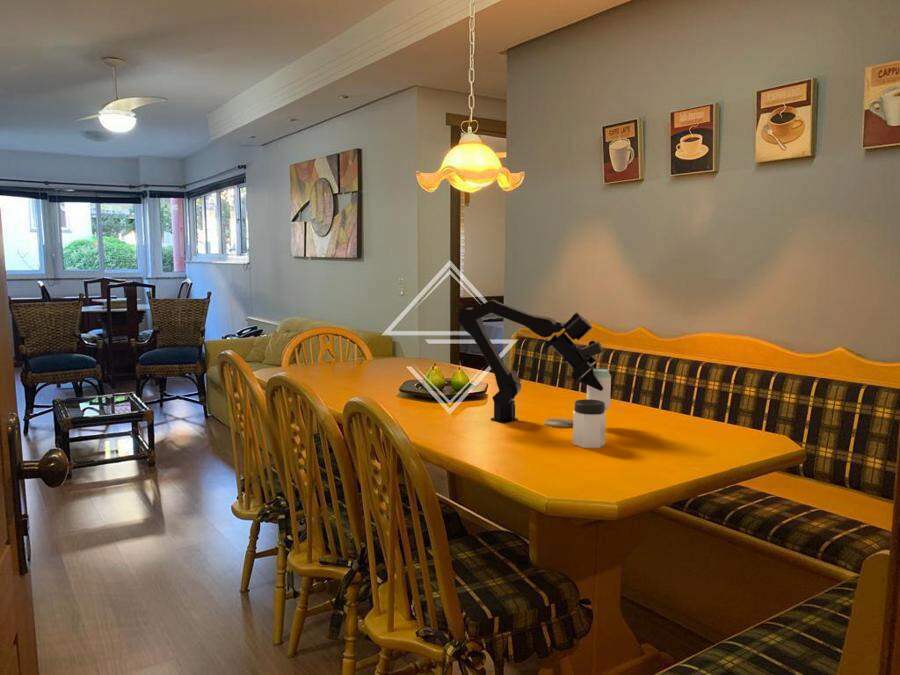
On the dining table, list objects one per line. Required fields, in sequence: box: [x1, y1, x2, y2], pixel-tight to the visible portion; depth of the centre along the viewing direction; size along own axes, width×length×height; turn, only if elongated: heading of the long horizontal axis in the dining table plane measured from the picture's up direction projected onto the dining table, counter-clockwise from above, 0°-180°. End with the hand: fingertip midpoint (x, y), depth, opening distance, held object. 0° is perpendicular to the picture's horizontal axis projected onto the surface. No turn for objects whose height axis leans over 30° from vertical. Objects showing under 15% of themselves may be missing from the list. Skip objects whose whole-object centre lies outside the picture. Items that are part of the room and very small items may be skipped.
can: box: [586, 368, 612, 411], centre depth 207 cm, size 7×7×12 cm
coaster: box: [544, 417, 573, 429], centre depth 212 cm, size 10×10×1 cm
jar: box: [572, 398, 607, 449], centre depth 188 cm, size 9×8×12 cm
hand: (603, 387), depth 207 cm, fingers closed on can, 7 cm apart
